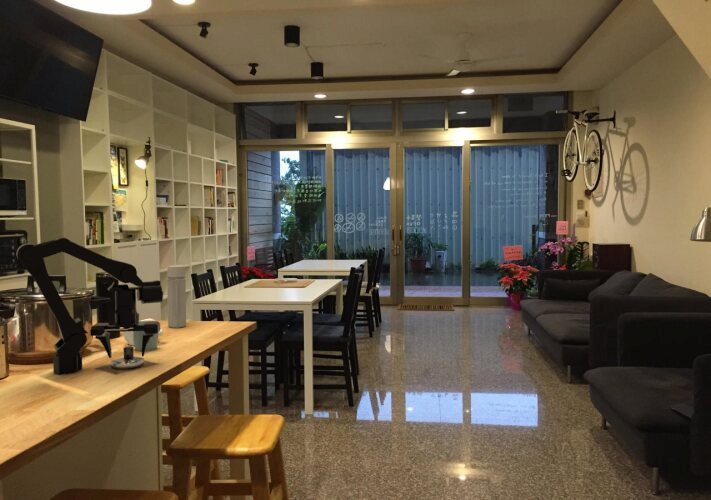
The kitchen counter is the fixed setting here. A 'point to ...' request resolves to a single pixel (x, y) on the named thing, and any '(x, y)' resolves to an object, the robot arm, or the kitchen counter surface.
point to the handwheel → (127, 360)
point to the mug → (129, 334)
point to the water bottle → (176, 296)
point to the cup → (139, 336)
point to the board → (118, 371)
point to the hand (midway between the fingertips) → (126, 357)
